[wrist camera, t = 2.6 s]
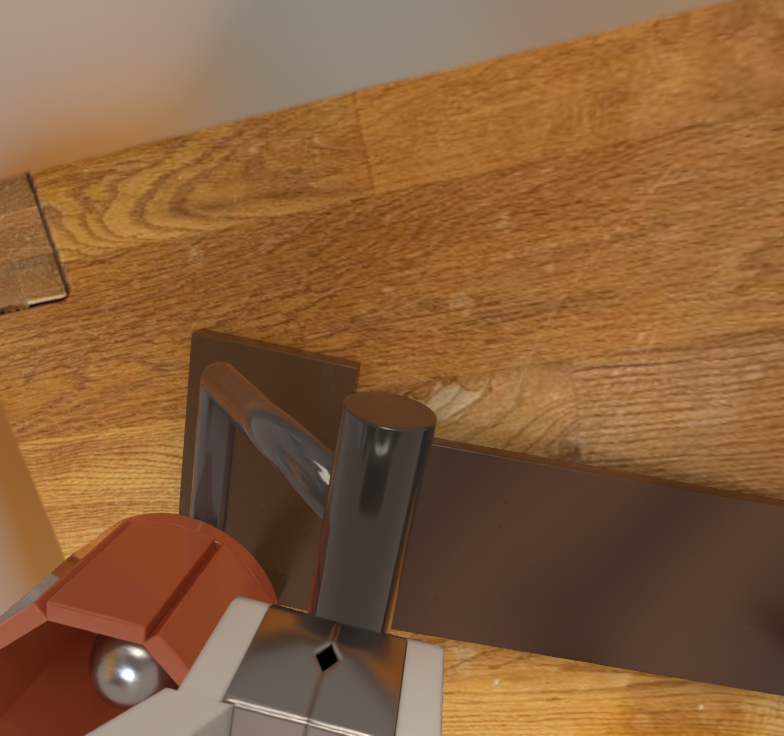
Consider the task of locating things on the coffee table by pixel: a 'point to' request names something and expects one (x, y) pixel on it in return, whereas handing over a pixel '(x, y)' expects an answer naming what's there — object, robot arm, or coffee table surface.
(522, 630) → the ramp
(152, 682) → the steel ball
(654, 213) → the coffee table surface
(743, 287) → the coffee table surface
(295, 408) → the cup stand
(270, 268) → the coffee table surface
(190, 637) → the terracotta cup
